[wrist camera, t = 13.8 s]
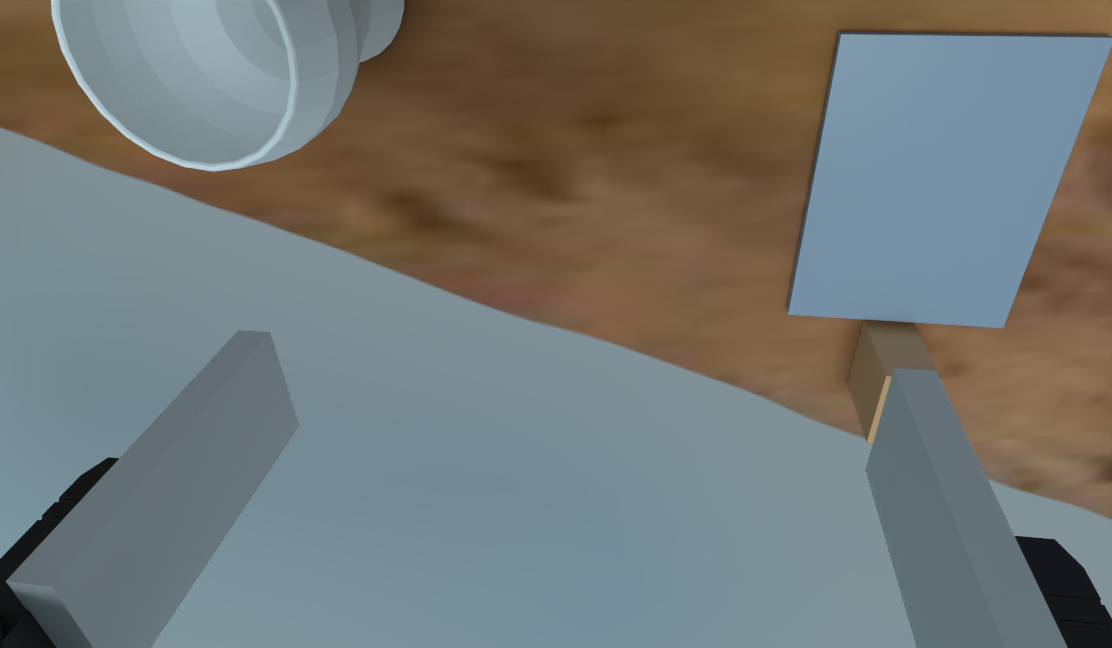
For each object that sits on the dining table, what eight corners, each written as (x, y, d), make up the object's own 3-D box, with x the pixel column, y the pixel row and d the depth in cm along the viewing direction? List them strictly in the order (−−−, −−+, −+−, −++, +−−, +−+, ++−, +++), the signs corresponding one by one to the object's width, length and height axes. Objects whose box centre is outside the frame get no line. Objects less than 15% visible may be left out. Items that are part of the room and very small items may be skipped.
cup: (443, -96, 36) (316, -71, 24) (419, 108, 42) (307, 214, 29) (240, -152, 36) (5, -157, 23) (244, 60, 42) (59, 146, 29)
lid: (838, 31, 37) (863, 57, 32) (1106, 34, 35) (1177, 62, 30) (773, 377, 48) (784, 435, 43) (971, 391, 47) (1006, 454, 42)
